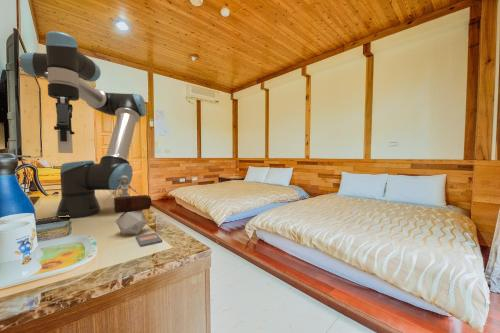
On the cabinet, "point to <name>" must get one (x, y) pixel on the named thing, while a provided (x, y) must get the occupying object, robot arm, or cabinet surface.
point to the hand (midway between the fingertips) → (66, 153)
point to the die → (131, 222)
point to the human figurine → (124, 187)
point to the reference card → (148, 239)
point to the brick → (131, 203)
